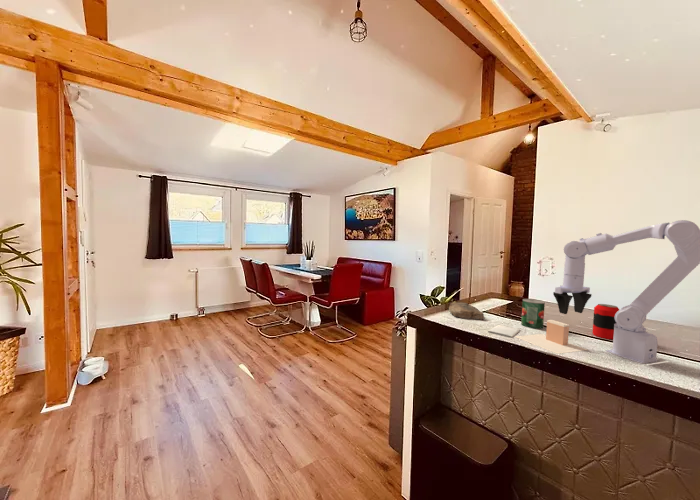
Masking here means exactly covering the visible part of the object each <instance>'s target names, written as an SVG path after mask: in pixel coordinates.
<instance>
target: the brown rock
mask: <svg viewBox="0 0 700 500" xmlns="http://www.w3.org/2000/svg"><path fill="white" fill-rule="evenodd" d="M448 311H449V313H450V314H451V315H453V316H454V317H456V318H460V319H465V320H471V319H472V320H481V321H482V320H483V319H484V318H485V315H484V312H483V311H480V310H479V309H478V308H477V307H475V306H473V305H471V304H469V303H467V302H460V301H458V302H451V303H450V304H449V307H448Z"/></svg>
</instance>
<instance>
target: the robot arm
mask: <svg viewBox="0 0 700 500" xmlns="http://www.w3.org/2000/svg"><path fill="white" fill-rule="evenodd" d="M666 238H667V239H668V240H669V242H671V243H672V245H673V247H674V250H675V253H676V255H677V256H676V257H675V259H674V260H673V261H672V262H671V263H670V264H668V265H667V266H666V268H665V269H664V270H662V272H661V273H660V274H659V275H658V276H657V277H656V278H655V279H654V280H653V281H652V282H651V283H650V284H649V285H648V286H647V287H646V288H645V289H644V290H643V291H642V292H641V293H640V294H639V295H638V296H637V297H636V298H635V299H634V300H633V301H632V302H630V304H628V305H625V306H623V307H621V309H619V311H617V312H616V314H615V321H616V324H614V336H613V340H612V349H606V350H605V352H606V353H609V354H612V355H615V356H619V357H620V358H621V357H622V358H624V359H627V360H630V361H633V362H636V363H639V364H647V363H654V362H658V359H657V357H658V356H657V354H658V338H657V336H656V335H655V334H653V333H649V332H648V331H647V328H646V327H645V326H644V325H643V323H645V321H646V319H647V316H648V314H649V313H650V312H651V311H652V310H653V309H654V308H655V307H656V306H657V305H658V304H659V303H660V302H661V301H663V300H664V299H665V297H666V296H667V295H669V294H670V292H672V291H673V290H674V289H675V288H676V287H677V286H678V285H679V284H681V282H682V281H683V280H684V279H685V278H686V277H687V276H688V275H690V273H691V272H693V271H694V270H695V269H696V268H697V267H698V266H699V265H700V228H699V226H698V225H697V224H696V223H695V222H693V221H691V220H686V219H685V220H684V219H680V220H675V221H672V222H671V223H670V222H663V223H656V224H652V225H647V226H644V227H639V228H636V229H633V230H630V231H626V232H623V233H617V234H615V235H612V234H609V233H603V234H602V233H601V232H599V233H596V235H595V236H592V237H591V236H590V237H587V238H579V239H578V240H579V241H577V240H572V241H569V242H567V243H566V244H565V245H564V247H563V253H564V255H565V258H564V260H565V261H564V267H563V278H562V279H563V280H562V281H563V282H562V285H560V286H558V287H557V286H555V289H554V291H553V293H552V294H553V297H554V298H555V300H556V303H557V306H558V311H559V314H563V315H568V313H569V307H570V303H571V301H572V298H573V303H574V304H573V310H574V312H575V313H577V314H578V313H579V314H583V312H584V309H585V307H586V305H587V303H588V301H589V300H591V297H592V296H593V295H592V293H590V290H591V287H588V286H584V281H585V270H586V256H587V255H588V256H592V255H595V254H600V253H605V252H609V251H613V250H614V249H615V248H616V246H617V245H622V244H626V243H632V242H636V241H641V240H646V239H658V240H665V239H666ZM569 294H572V295H569Z"/></svg>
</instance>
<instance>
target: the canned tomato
mask: <svg viewBox="0 0 700 500" xmlns="http://www.w3.org/2000/svg"><path fill="white" fill-rule="evenodd" d="M521 304H522V305H521V320H520V321H521V323H520V325H521V326H523V327H526V328H529V329H534V330H540V329H541V330H542V329H544V320H545V318H544V317H545V304H546V303H545V301H544V300H539V299H534V298H523V299H522V303H521Z"/></svg>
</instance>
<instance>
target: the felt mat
mask: <svg viewBox="0 0 700 500" xmlns="http://www.w3.org/2000/svg"><path fill="white" fill-rule="evenodd" d="M514 338H517V339H520V340H521V341H524V342H526V343H530V344H531V345H534V346H536V347H538V348H542V349H544V350H547V351H548V352H551V353H553V354H557V355H558V354H559V355H560V354H567V353H575V352H576V353H577V352H583V351H588V350H589V349H587V348H584V347H581V346H580V345H575V344H573V343H570V342H568V345H560V344H557V343H555V342H552V341H549V340H546V333H545V334H544V333H537V334H527V335H515V336H514Z"/></svg>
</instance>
